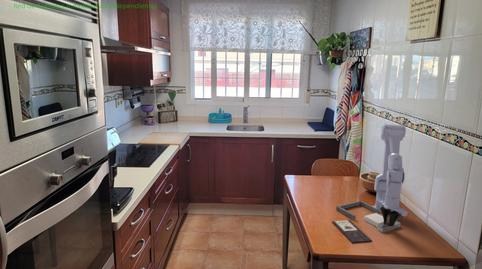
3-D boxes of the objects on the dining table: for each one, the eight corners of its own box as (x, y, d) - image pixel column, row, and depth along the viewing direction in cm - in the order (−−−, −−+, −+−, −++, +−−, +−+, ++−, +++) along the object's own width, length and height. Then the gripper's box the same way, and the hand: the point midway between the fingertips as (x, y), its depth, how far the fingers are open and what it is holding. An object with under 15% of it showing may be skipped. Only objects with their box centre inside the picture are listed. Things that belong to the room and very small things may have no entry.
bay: (360, 204, 173) (360, 200, 172) (378, 213, 163) (379, 209, 162) (336, 209, 165) (336, 206, 165) (353, 219, 155) (354, 215, 155)
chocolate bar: (352, 242, 134) (332, 221, 152) (351, 244, 135) (331, 223, 152) (372, 240, 136) (349, 220, 153) (371, 242, 136) (349, 222, 154)
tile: (375, 217, 159) (375, 212, 158) (389, 224, 152) (390, 219, 152) (363, 220, 155) (364, 216, 155) (377, 228, 148) (378, 223, 148)
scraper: (394, 224, 152) (396, 210, 151) (399, 227, 150) (401, 212, 148) (376, 229, 146) (378, 215, 145) (382, 232, 144) (384, 218, 142)
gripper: (373, 191, 149) (369, 219, 152) (401, 203, 137) (396, 233, 140) (383, 189, 152) (380, 216, 155) (412, 201, 140) (407, 230, 143)
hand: (388, 224), depth 148 cm, fingers closed on scraper, 2 cm apart
